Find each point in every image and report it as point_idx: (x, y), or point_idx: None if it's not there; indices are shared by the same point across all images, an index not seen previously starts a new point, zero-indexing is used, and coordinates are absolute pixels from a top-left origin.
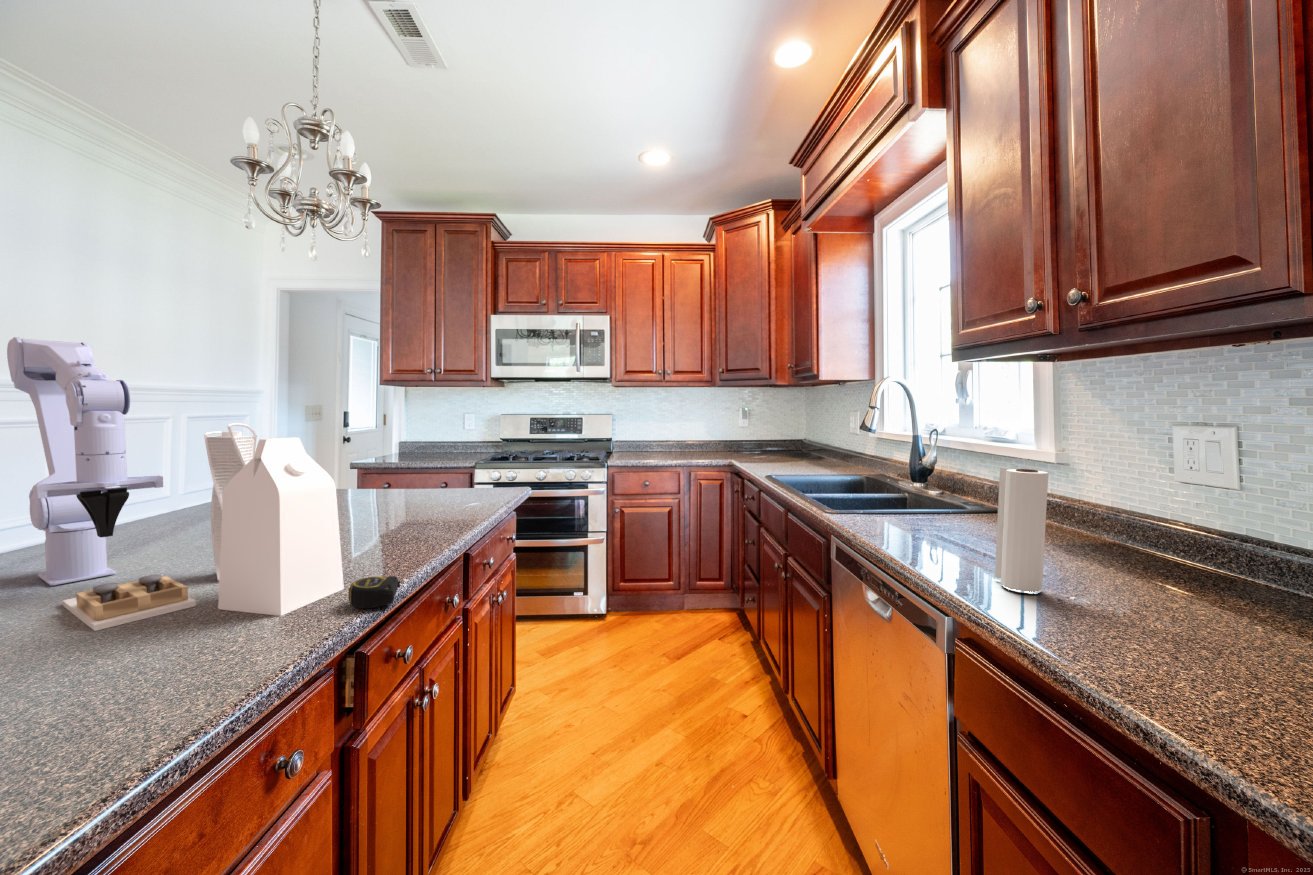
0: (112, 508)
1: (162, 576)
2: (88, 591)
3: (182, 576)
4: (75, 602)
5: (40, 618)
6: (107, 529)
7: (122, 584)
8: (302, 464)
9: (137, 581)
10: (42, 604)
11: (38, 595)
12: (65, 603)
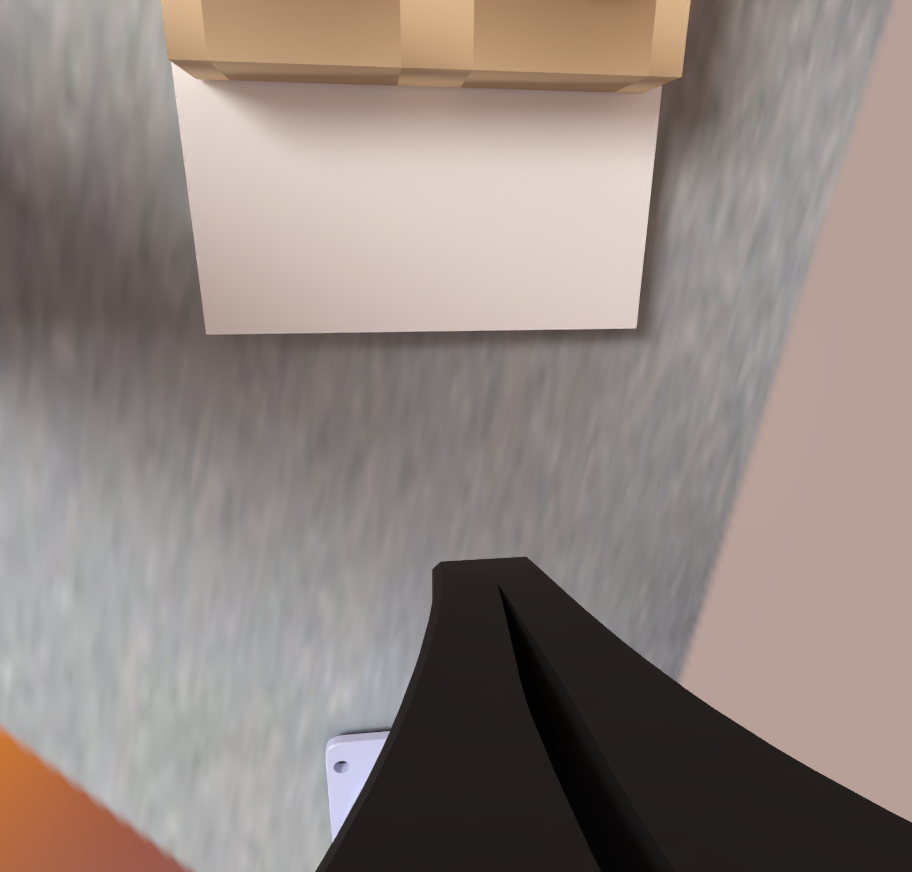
0: (516, 828)
1: (185, 27)
2: (629, 43)
3: (64, 431)
4: (615, 212)
5: (751, 147)
6: (497, 594)
7: (443, 40)
8: None
9: (351, 39)
10: (663, 430)
11: (624, 608)
12: (642, 254)
